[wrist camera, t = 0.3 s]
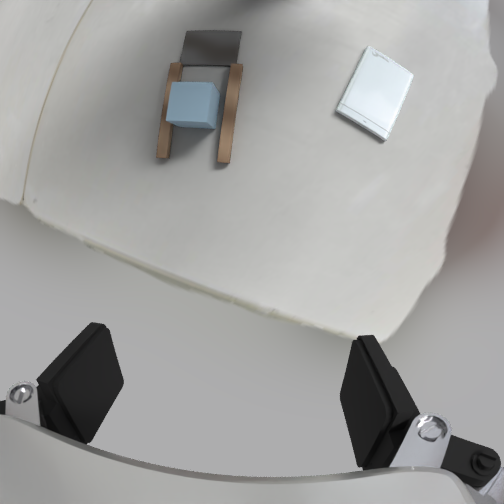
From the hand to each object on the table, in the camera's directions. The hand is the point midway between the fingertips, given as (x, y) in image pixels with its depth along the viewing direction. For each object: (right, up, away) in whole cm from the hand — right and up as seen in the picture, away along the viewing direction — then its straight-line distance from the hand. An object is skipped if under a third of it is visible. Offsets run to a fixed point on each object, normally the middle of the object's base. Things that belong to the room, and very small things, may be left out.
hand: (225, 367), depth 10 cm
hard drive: (+19, +27, +23) cm, 40 cm away
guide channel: (-6, +26, +24) cm, 36 cm away
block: (-6, +23, +25) cm, 35 cm away
